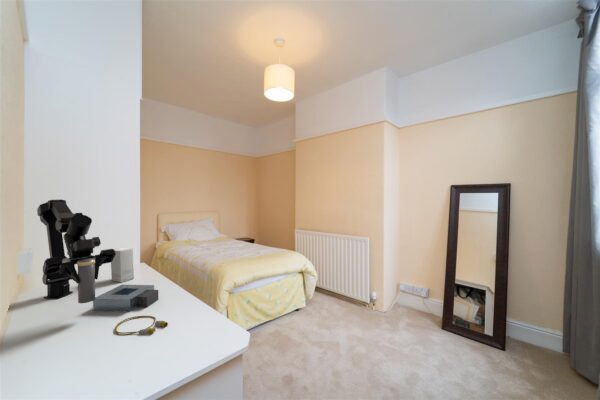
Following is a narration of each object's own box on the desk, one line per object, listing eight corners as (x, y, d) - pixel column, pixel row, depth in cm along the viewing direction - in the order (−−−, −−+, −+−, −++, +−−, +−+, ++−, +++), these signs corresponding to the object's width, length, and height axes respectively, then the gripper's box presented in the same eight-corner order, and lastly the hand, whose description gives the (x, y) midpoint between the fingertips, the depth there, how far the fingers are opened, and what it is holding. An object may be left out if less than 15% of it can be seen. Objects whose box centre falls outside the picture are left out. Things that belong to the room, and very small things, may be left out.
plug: (74, 303, 82) (73, 262, 82) (85, 297, 86) (84, 258, 86) (88, 303, 82) (88, 261, 82) (98, 297, 87) (98, 258, 86)
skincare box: (134, 278, 124) (134, 248, 124) (120, 283, 118) (119, 251, 118) (124, 276, 128) (124, 246, 127) (110, 280, 122) (109, 249, 121)
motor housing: (93, 310, 90) (92, 298, 90) (122, 295, 104) (122, 284, 104) (140, 311, 90) (140, 299, 89) (163, 295, 104) (163, 285, 103)
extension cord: (125, 346, 70) (125, 339, 70) (109, 327, 80) (109, 321, 80) (170, 328, 80) (169, 322, 79) (150, 313, 89) (150, 308, 89)
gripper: (44, 233, 78) (54, 274, 72) (113, 227, 94) (126, 260, 88) (38, 254, 83) (47, 295, 77) (105, 245, 98) (117, 278, 92)
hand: (88, 280), depth 83 cm, fingers closed on plug, 4 cm apart
